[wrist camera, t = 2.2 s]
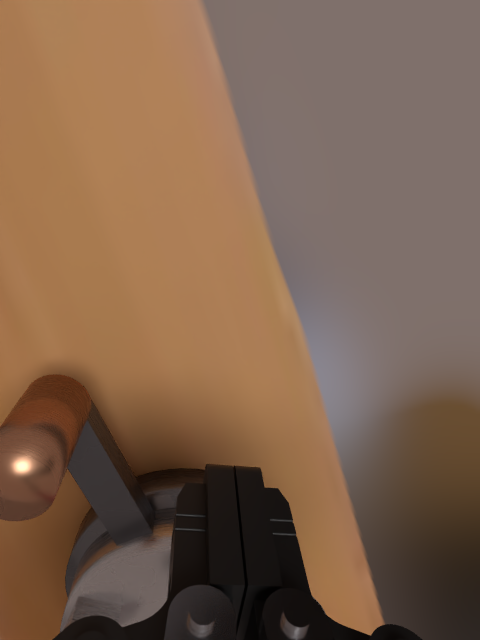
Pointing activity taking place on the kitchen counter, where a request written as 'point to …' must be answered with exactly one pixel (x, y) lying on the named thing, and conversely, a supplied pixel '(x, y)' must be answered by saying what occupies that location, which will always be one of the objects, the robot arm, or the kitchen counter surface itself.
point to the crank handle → (100, 490)
